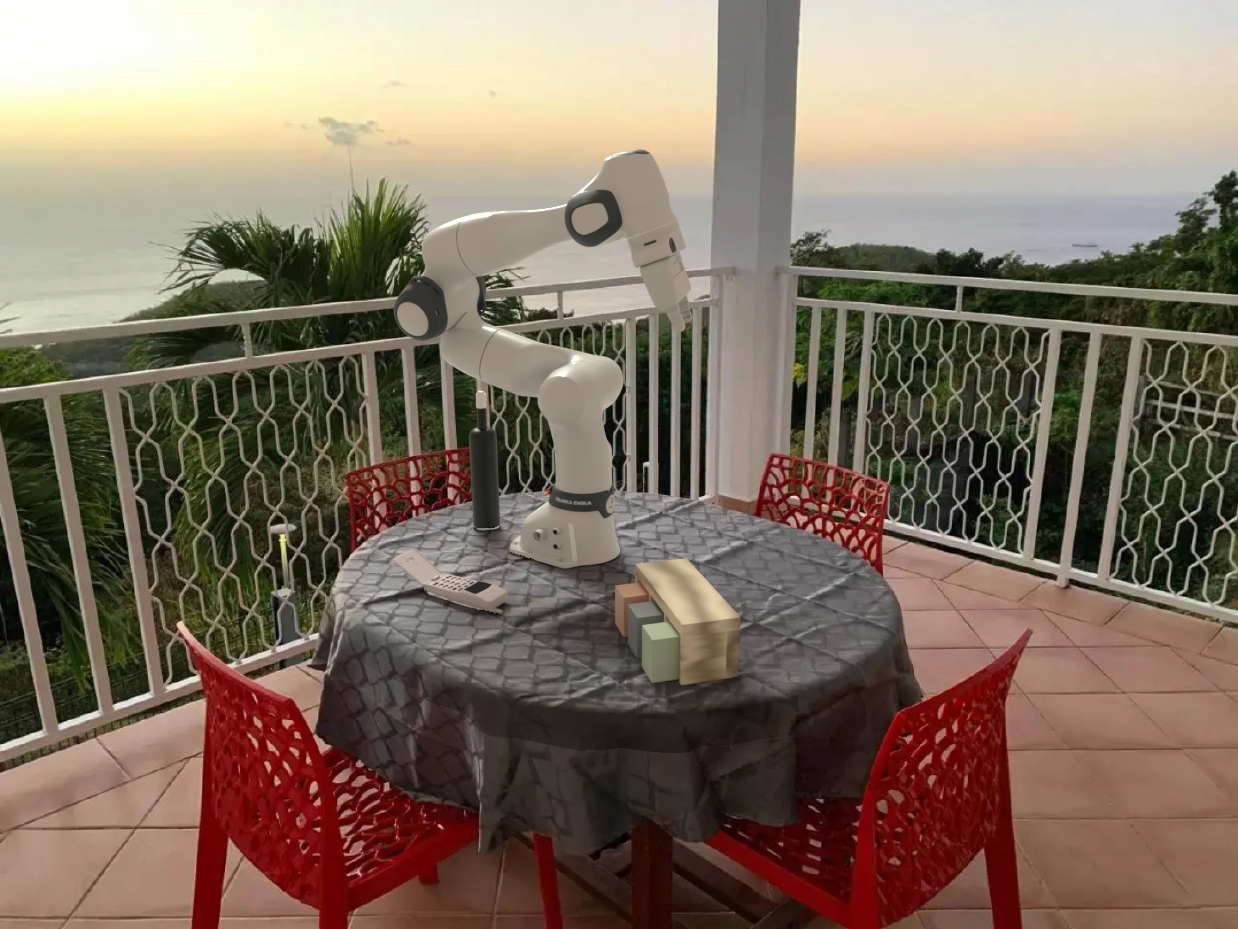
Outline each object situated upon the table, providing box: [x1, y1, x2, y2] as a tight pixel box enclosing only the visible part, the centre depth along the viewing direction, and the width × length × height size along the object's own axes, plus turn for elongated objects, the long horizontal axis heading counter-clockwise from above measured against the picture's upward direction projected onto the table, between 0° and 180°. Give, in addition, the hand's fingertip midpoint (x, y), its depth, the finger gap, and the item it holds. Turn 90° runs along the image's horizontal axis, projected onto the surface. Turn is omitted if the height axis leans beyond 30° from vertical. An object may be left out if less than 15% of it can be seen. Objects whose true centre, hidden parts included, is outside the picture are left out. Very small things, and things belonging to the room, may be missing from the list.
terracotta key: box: [614, 582, 649, 638], centre depth 149 cm, size 7×5×7 cm
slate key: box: [627, 601, 664, 660], centre depth 142 cm, size 7×5×7 cm
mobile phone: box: [392, 547, 509, 615], centre depth 163 cm, size 6×6×25 cm
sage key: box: [641, 622, 680, 684], centre depth 135 cm, size 7×5×7 cm
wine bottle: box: [468, 390, 501, 528], centre depth 192 cm, size 6×6×30 cm
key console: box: [634, 557, 741, 686], centre depth 143 cm, size 9×23×10 cm, turn 16°
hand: (684, 326), depth 153 cm, fingers open, 8 cm apart
